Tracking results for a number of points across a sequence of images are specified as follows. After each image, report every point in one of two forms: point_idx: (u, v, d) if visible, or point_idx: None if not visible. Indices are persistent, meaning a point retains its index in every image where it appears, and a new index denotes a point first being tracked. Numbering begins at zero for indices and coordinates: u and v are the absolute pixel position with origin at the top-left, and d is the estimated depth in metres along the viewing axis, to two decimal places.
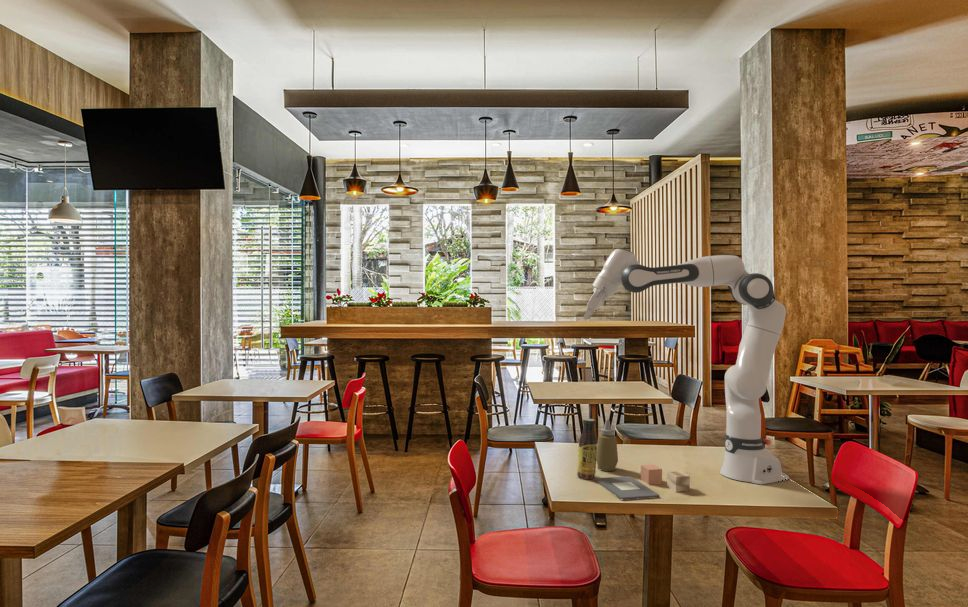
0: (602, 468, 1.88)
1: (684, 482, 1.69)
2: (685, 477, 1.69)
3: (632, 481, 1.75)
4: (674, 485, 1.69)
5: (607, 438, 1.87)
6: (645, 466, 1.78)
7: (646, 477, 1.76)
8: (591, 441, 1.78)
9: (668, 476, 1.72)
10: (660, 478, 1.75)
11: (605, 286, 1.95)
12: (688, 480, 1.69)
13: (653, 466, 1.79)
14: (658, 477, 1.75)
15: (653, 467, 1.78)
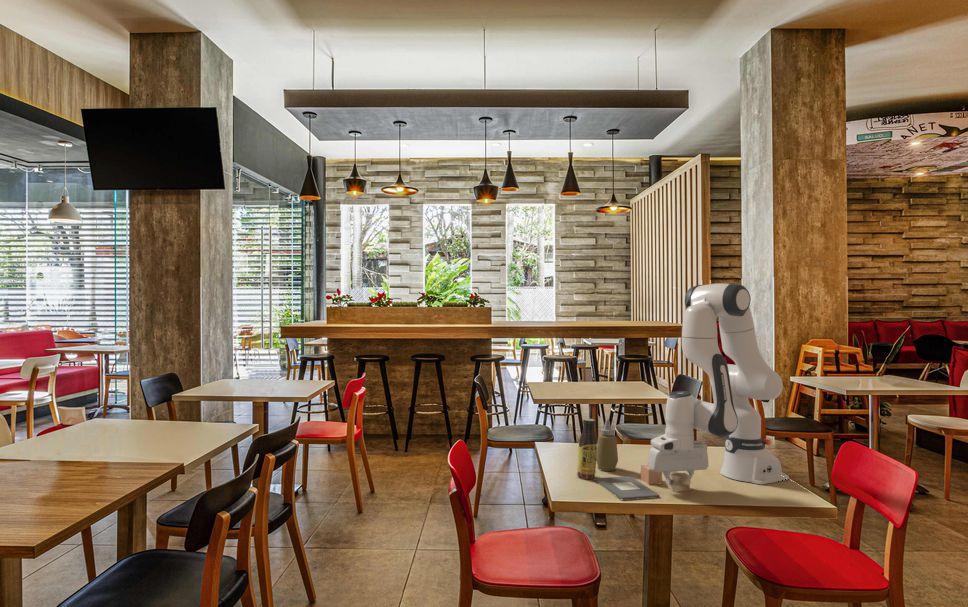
0: (602, 468, 1.88)
1: (684, 482, 1.69)
2: (685, 476, 1.69)
3: (632, 481, 1.75)
4: (674, 485, 1.69)
5: (607, 438, 1.87)
6: (645, 466, 1.78)
7: (646, 477, 1.76)
8: (591, 441, 1.78)
9: None
10: (660, 478, 1.75)
11: None
12: (688, 480, 1.69)
13: None
14: (658, 477, 1.75)
15: None
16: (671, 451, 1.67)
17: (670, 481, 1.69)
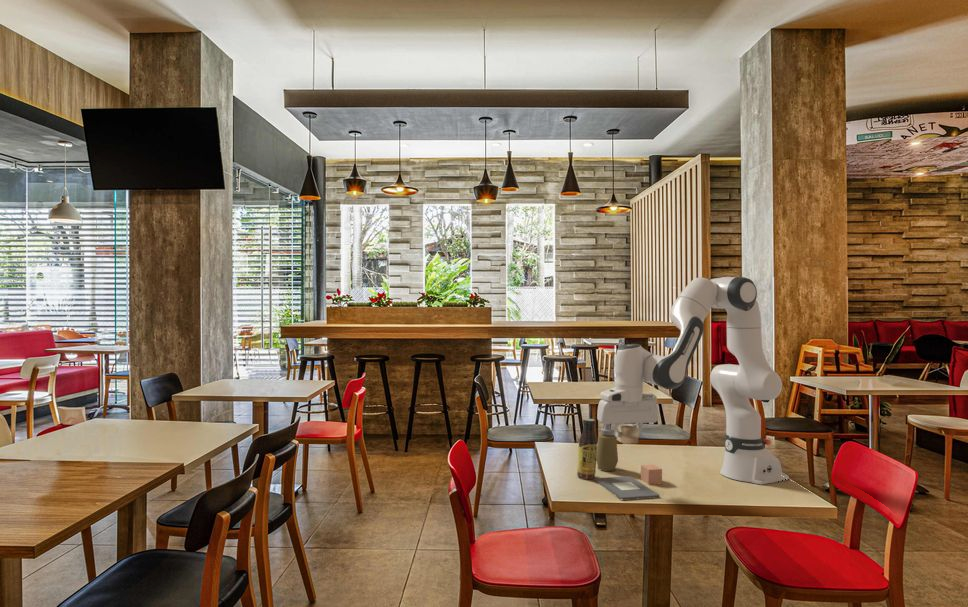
0: (602, 468, 1.88)
1: (633, 434, 1.68)
2: (633, 428, 1.68)
3: (632, 481, 1.75)
4: (623, 437, 1.68)
5: (607, 438, 1.87)
6: (645, 466, 1.78)
7: (646, 477, 1.76)
8: (591, 441, 1.78)
9: (618, 429, 1.71)
10: (660, 478, 1.75)
11: None
12: (637, 432, 1.68)
13: (653, 466, 1.79)
14: (658, 477, 1.75)
15: (653, 467, 1.78)
16: (619, 402, 1.66)
17: (619, 433, 1.68)
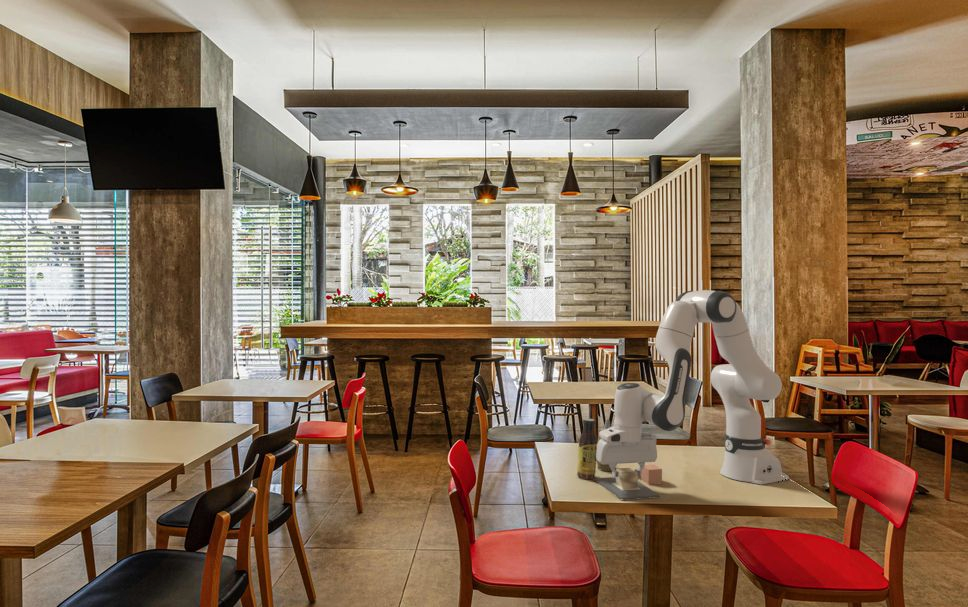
0: (602, 468, 1.88)
1: (632, 479, 1.68)
2: (632, 473, 1.68)
3: None
4: (622, 482, 1.68)
5: None
6: (645, 466, 1.78)
7: (646, 477, 1.76)
8: (591, 441, 1.78)
9: None
10: (660, 478, 1.75)
11: None
12: (636, 477, 1.68)
13: (653, 466, 1.79)
14: (658, 477, 1.75)
15: (653, 467, 1.78)
16: (618, 443, 1.66)
17: (615, 473, 1.68)
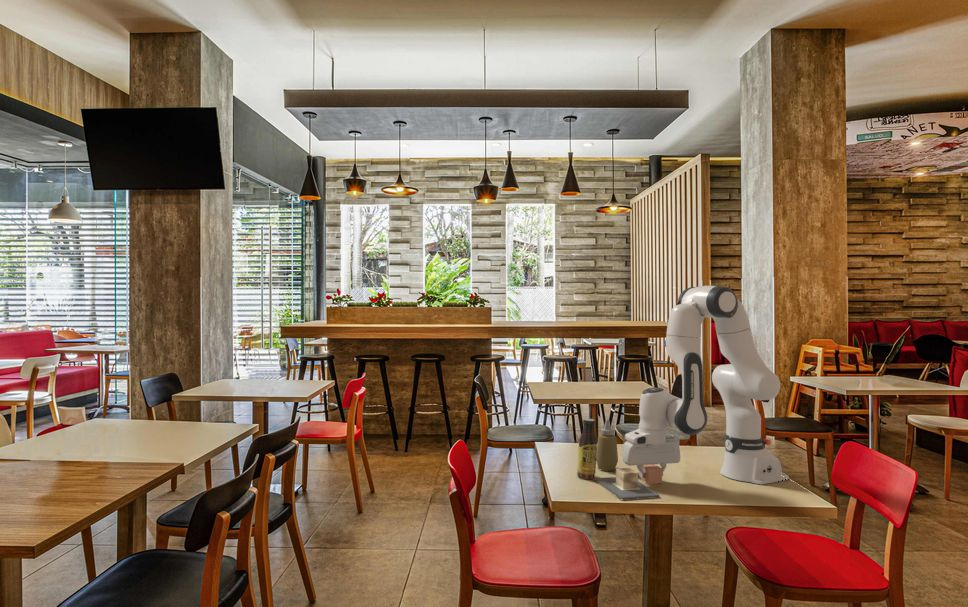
0: (602, 468, 1.88)
1: (632, 479, 1.68)
2: (632, 473, 1.68)
3: None
4: (622, 482, 1.68)
5: (607, 438, 1.87)
6: (645, 466, 1.78)
7: (646, 476, 1.76)
8: (591, 441, 1.78)
9: (617, 473, 1.71)
10: (660, 478, 1.76)
11: None
12: (636, 477, 1.68)
13: (653, 465, 1.79)
14: (658, 477, 1.75)
15: (653, 466, 1.78)
16: (644, 445, 1.74)
17: (643, 474, 1.76)
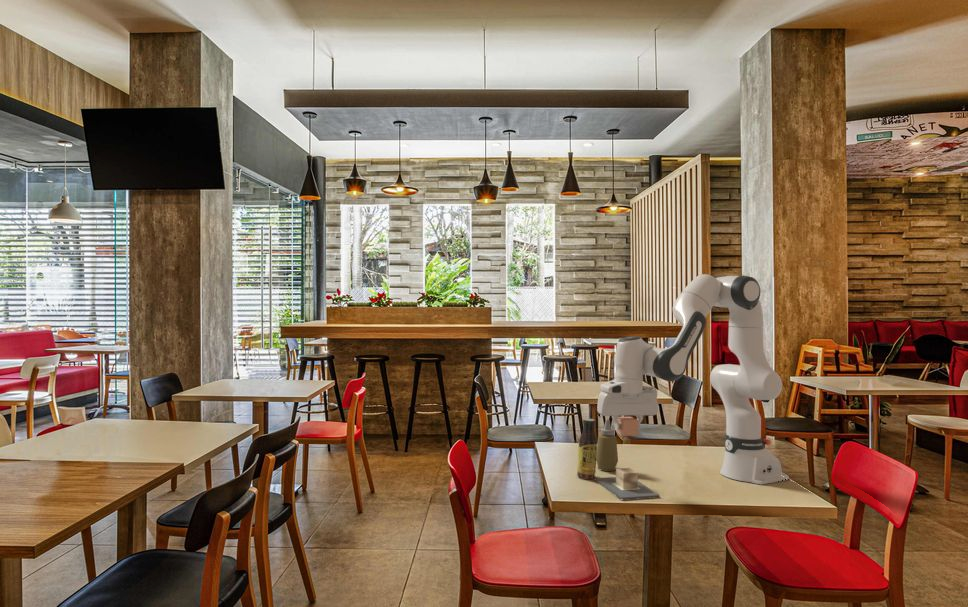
0: (602, 468, 1.88)
1: (632, 479, 1.68)
2: (632, 473, 1.68)
3: None
4: (622, 482, 1.68)
5: (607, 438, 1.87)
6: (621, 417, 1.71)
7: (622, 428, 1.68)
8: (591, 441, 1.78)
9: (617, 473, 1.71)
10: (636, 429, 1.68)
11: None
12: (636, 477, 1.68)
13: (629, 417, 1.71)
14: (634, 428, 1.68)
15: (630, 418, 1.70)
16: (619, 394, 1.66)
17: (619, 425, 1.68)
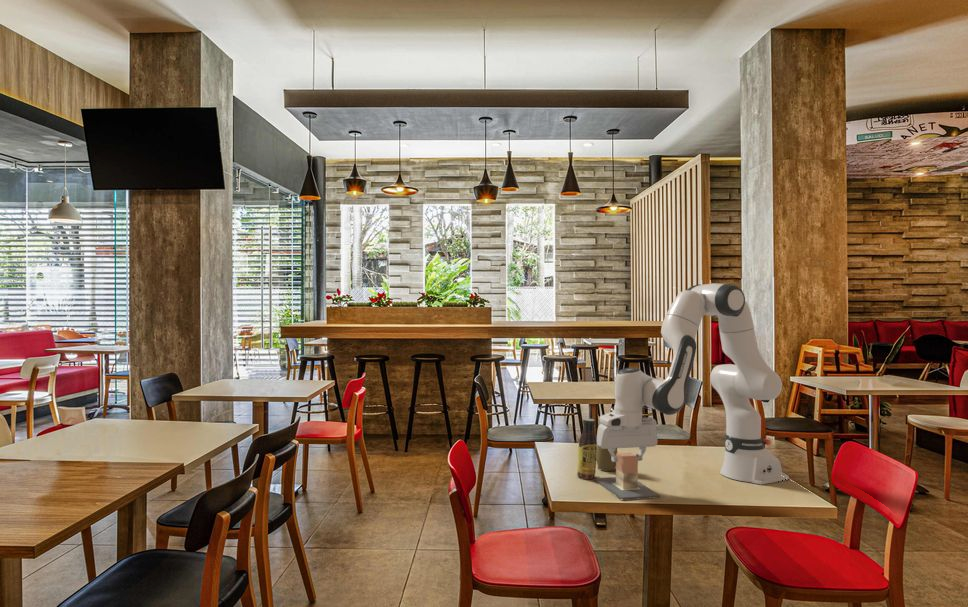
0: (602, 468, 1.88)
1: (632, 479, 1.68)
2: (632, 473, 1.68)
3: None
4: (622, 482, 1.68)
5: None
6: (620, 454, 1.71)
7: (621, 465, 1.68)
8: (591, 441, 1.78)
9: (617, 473, 1.71)
10: (636, 466, 1.68)
11: None
12: (636, 477, 1.68)
13: (629, 454, 1.71)
14: (633, 466, 1.68)
15: (629, 455, 1.70)
16: (618, 427, 1.66)
17: (615, 458, 1.68)
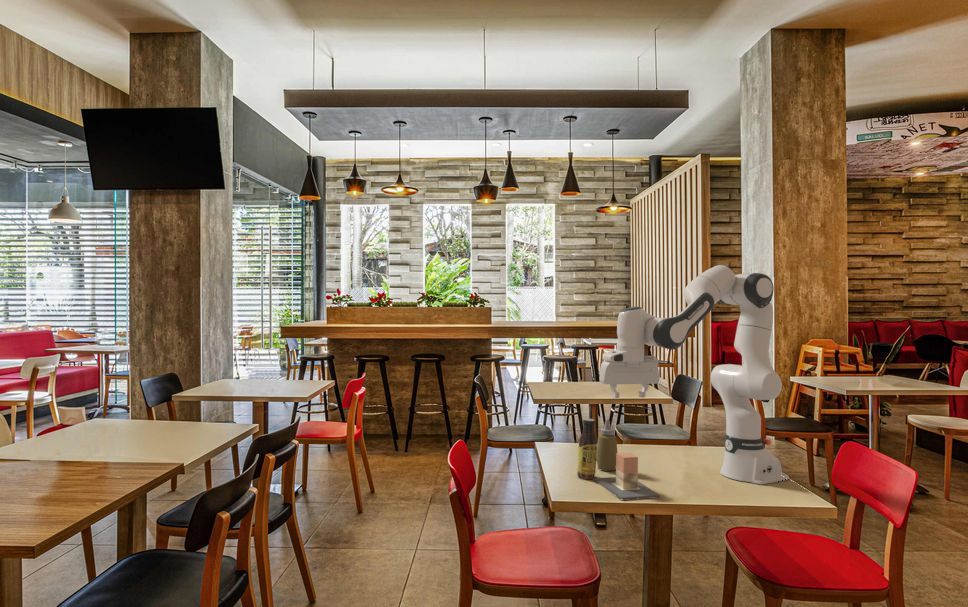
0: (602, 468, 1.88)
1: (632, 479, 1.68)
2: (632, 473, 1.68)
3: None
4: (622, 482, 1.68)
5: (607, 438, 1.87)
6: (620, 454, 1.71)
7: (621, 465, 1.68)
8: (591, 441, 1.78)
9: (617, 473, 1.71)
10: (636, 466, 1.68)
11: None
12: (636, 477, 1.68)
13: (629, 454, 1.71)
14: (633, 466, 1.68)
15: (629, 455, 1.70)
16: (621, 363, 1.70)
17: (616, 394, 1.71)
